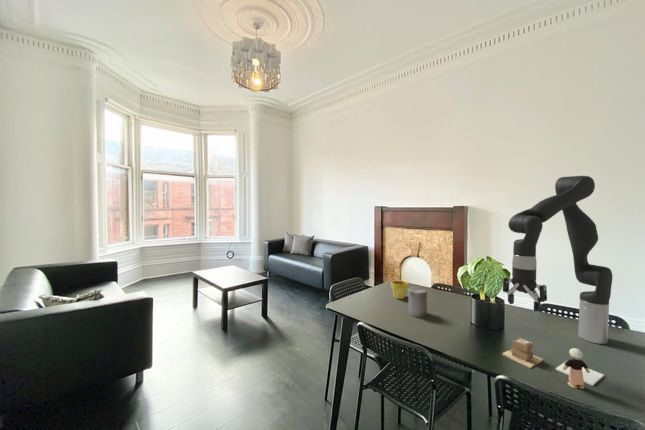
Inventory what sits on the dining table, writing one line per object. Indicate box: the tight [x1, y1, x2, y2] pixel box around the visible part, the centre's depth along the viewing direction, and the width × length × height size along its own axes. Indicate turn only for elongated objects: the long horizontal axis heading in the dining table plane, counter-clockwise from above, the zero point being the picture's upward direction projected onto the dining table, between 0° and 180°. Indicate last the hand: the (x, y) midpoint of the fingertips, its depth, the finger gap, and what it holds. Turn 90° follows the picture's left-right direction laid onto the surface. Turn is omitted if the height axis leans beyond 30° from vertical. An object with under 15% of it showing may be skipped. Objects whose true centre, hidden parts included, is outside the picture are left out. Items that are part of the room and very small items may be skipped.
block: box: [511, 337, 534, 362], centre depth 107 cm, size 5×5×6 cm
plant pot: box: [390, 279, 409, 300], centre depth 175 cm, size 10×10×10 cm
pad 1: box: [501, 348, 544, 369], centre depth 107 cm, size 10×10×1 cm
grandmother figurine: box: [563, 347, 590, 390], centre depth 90 cm, size 8×4×13 cm, turn 92°
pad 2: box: [555, 359, 605, 387], centre depth 97 cm, size 10×10×1 cm
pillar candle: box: [407, 286, 428, 318], centre depth 149 cm, size 10×10×15 cm
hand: (523, 307), depth 106 cm, fingers open, 8 cm apart
